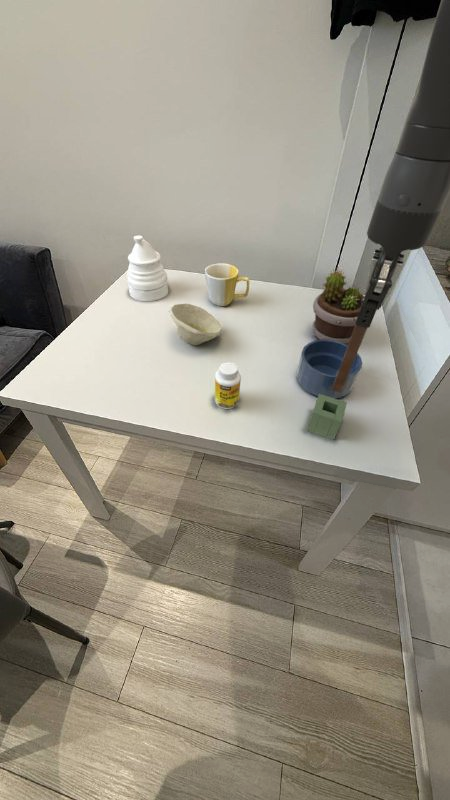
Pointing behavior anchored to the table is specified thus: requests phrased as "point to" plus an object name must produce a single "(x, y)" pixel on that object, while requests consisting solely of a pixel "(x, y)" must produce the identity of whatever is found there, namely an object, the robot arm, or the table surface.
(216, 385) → the supplement bottle
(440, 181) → the robot arm
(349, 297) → the flowerpot
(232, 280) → the mug
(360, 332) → the brown stick
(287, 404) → the table surface
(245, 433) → the table surface
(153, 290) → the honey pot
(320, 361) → the blue round tub
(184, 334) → the bowl
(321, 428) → the stick holder
